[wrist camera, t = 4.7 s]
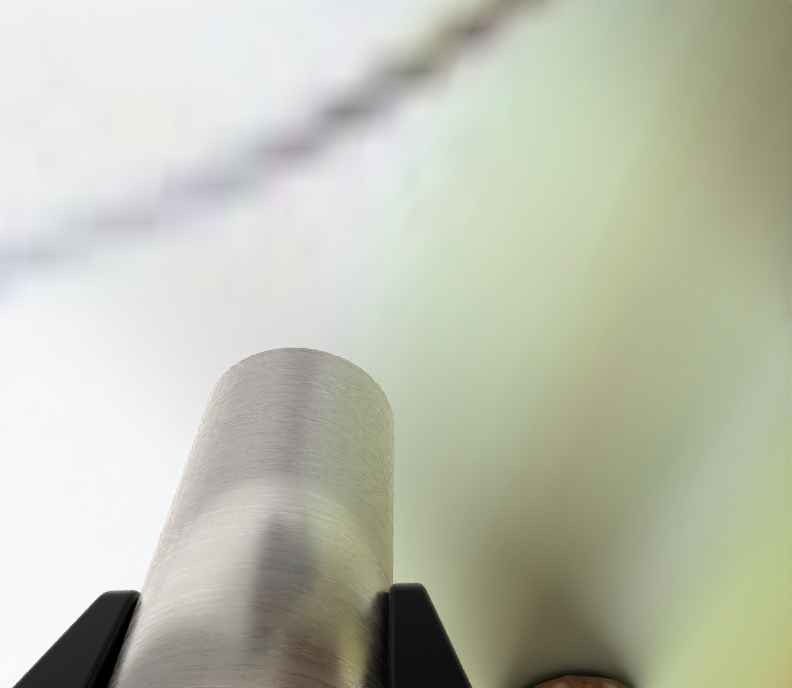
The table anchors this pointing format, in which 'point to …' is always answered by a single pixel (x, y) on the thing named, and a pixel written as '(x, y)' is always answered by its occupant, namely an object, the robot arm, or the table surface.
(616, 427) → the table surface
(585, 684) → the sauce bottle
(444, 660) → the robot arm
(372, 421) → the handle peg
